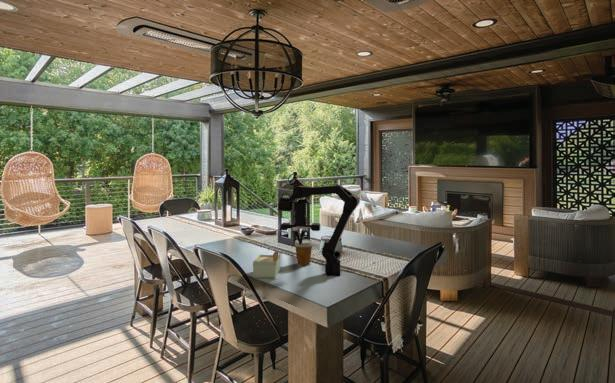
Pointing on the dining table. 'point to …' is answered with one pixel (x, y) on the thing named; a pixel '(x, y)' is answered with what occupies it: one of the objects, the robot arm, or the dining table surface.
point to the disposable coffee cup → (303, 252)
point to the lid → (270, 258)
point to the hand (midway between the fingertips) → (300, 244)
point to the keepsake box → (265, 268)
